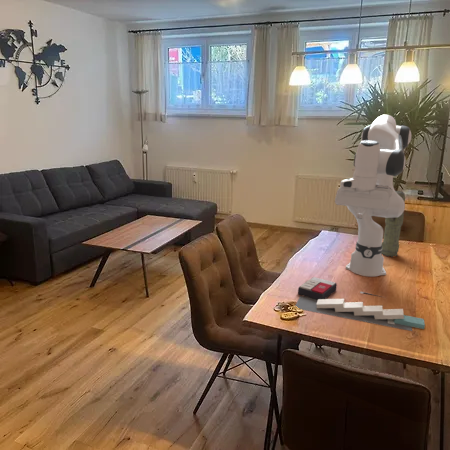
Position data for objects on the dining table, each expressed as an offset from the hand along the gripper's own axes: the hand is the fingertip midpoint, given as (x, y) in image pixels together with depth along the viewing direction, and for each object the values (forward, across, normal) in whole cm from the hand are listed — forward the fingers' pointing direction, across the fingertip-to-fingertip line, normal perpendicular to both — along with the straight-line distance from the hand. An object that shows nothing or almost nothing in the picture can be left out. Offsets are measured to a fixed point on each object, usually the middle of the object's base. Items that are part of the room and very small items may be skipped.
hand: (359, 218), depth 166 cm
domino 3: (+32, -3, +15) cm, 36 cm away
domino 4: (+32, -10, +15) cm, 37 cm away
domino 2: (+33, +4, +15) cm, 36 cm away
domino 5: (+32, -17, +15) cm, 40 cm away
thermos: (+34, -16, -69) cm, 79 cm away
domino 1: (+33, +11, +15) cm, 37 cm away
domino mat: (+34, -2, +15) cm, 37 cm away
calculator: (+34, +13, +2) cm, 36 cm away
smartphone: (+35, -11, -3) cm, 37 cm away
